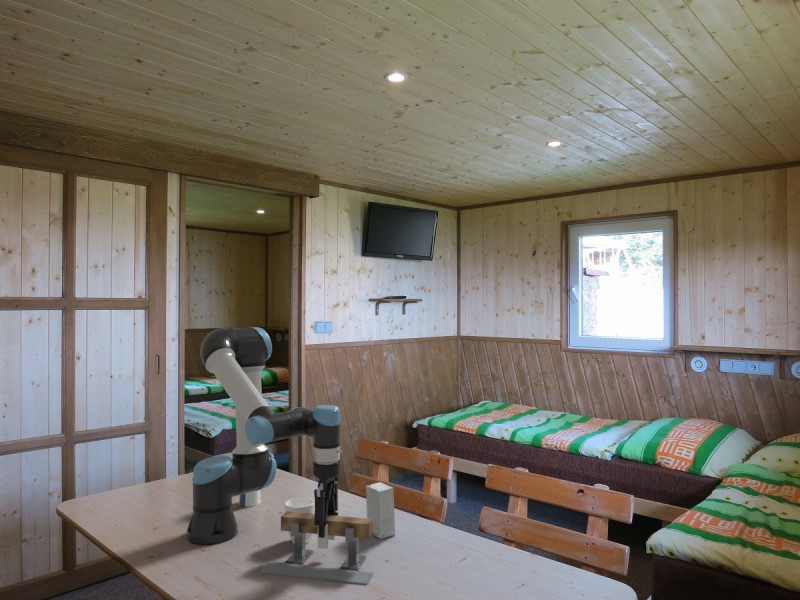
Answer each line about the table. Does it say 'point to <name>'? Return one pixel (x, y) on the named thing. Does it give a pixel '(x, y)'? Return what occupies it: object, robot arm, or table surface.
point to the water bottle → (250, 499)
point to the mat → (317, 572)
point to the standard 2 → (352, 551)
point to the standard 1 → (298, 546)
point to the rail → (334, 524)
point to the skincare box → (381, 509)
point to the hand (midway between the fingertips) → (326, 543)
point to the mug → (300, 510)
